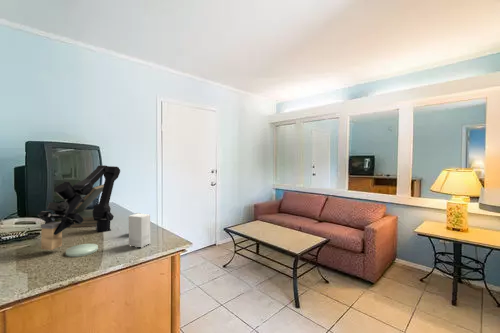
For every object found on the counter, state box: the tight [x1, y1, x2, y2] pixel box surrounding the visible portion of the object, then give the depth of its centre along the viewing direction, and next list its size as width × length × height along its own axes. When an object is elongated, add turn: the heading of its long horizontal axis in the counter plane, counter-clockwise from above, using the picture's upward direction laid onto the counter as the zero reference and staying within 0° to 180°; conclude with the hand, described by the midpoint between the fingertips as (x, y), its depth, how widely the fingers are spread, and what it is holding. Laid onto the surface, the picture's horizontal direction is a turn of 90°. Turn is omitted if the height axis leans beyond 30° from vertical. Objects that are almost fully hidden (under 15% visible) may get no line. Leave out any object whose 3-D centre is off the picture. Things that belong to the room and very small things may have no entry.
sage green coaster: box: [65, 243, 99, 258], centre depth 107 cm, size 12×12×2 cm
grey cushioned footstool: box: [40, 221, 63, 251], centre depth 105 cm, size 5×5×11 cm
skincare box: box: [128, 212, 151, 248], centre depth 116 cm, size 8×7×16 cm
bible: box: [68, 183, 104, 228], centre depth 154 cm, size 23×20×25 cm
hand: (49, 234), depth 103 cm, fingers closed on grey cushioned footstool, 5 cm apart
